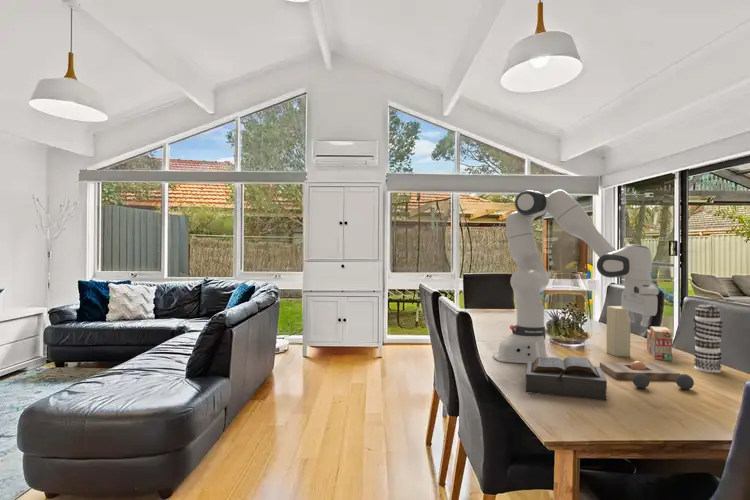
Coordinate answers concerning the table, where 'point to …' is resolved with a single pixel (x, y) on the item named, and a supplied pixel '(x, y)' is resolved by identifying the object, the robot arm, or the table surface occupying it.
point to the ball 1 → (640, 380)
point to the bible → (566, 378)
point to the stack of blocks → (660, 343)
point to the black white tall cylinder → (707, 338)
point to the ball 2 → (684, 381)
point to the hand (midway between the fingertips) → (637, 324)
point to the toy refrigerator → (618, 331)
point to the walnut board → (638, 371)
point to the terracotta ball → (638, 365)
